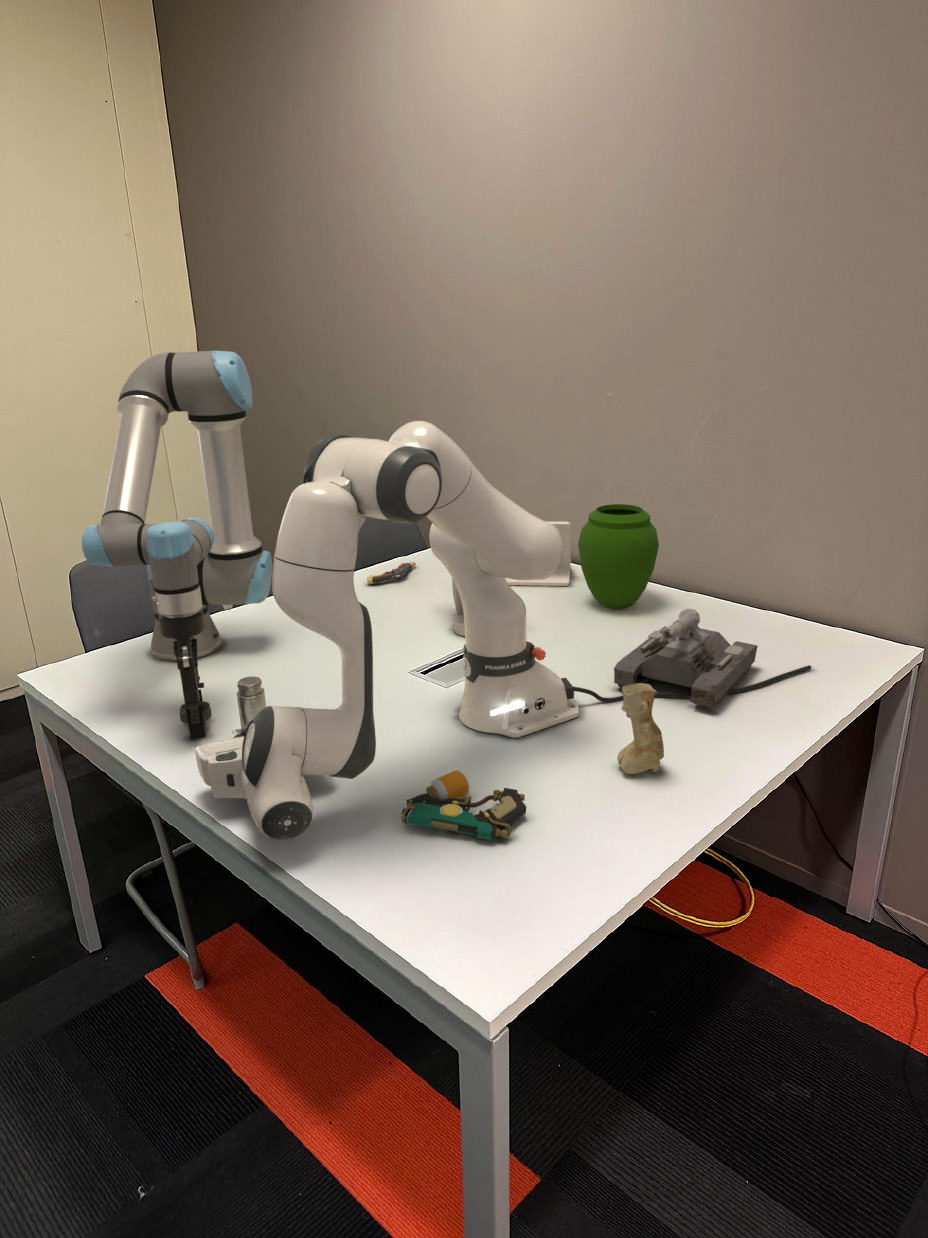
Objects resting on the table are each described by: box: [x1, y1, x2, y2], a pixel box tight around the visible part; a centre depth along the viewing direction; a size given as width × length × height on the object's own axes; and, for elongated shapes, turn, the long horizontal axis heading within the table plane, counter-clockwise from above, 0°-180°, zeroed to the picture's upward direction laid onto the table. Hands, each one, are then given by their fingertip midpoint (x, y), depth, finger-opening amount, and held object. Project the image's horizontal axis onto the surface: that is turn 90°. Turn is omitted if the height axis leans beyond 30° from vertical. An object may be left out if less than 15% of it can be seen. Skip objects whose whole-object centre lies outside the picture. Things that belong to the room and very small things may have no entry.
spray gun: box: [401, 769, 527, 841], centre depth 128 cm, size 4×17×15 cm
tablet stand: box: [505, 521, 572, 587], centre depth 236 cm, size 18×25×17 cm
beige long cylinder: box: [236, 675, 267, 736], centre depth 142 cm, size 4×4×16 cm
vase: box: [577, 503, 660, 610], centre depth 210 cm, size 20×20×24 cm
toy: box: [613, 607, 758, 709], centre depth 170 cm, size 25×20×15 cm
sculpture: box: [616, 683, 665, 775], centre depth 137 cm, size 6×7×15 cm
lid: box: [178, 700, 213, 725], centre depth 156 cm, size 6×6×2 cm
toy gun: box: [366, 561, 417, 585], centre depth 241 cm, size 3×19×10 cm
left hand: (198, 729), depth 158 cm, fingers closed on lid, 5 cm apart
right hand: (254, 729), depth 143 cm, fingers closed on beige long cylinder, 4 cm apart
